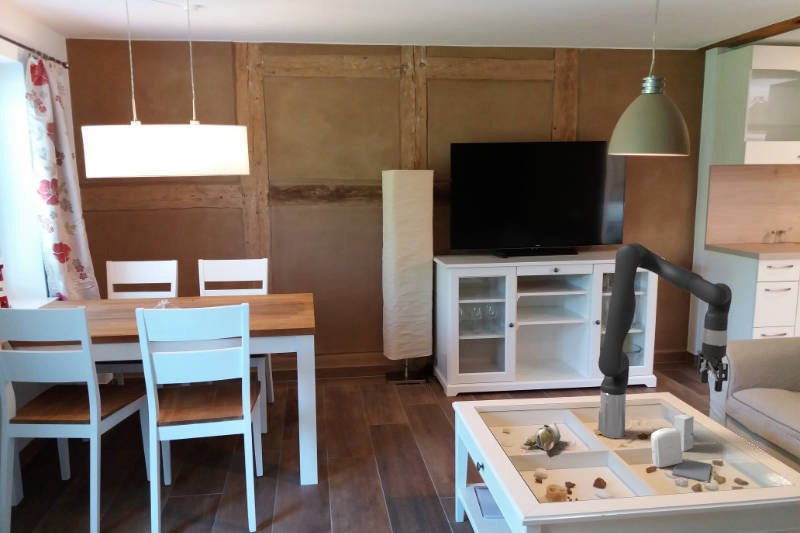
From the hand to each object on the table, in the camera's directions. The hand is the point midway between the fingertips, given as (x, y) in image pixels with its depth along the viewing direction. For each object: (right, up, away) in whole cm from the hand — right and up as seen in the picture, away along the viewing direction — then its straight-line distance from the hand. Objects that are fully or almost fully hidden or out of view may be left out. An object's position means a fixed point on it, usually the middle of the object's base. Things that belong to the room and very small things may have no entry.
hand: (710, 387), depth 201 cm
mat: (-9, -27, -5) cm, 29 cm away
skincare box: (-4, -25, +12) cm, 28 cm away
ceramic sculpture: (-54, -26, +15) cm, 61 cm away
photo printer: (-16, -26, -1) cm, 31 cm away
